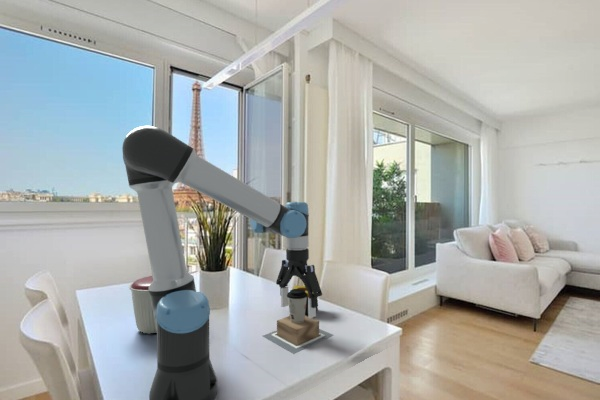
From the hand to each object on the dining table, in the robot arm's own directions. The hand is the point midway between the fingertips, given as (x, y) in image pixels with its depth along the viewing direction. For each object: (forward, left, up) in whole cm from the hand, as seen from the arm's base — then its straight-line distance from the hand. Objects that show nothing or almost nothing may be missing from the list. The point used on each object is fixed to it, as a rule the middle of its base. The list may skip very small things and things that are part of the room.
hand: (297, 311), depth 103 cm
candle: (+16, +14, -9) cm, 23 cm away
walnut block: (0, 0, -8) cm, 8 cm away
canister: (-32, +40, -9) cm, 52 cm away
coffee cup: (0, 0, -3) cm, 3 cm away
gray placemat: (0, 0, -9) cm, 9 cm away
